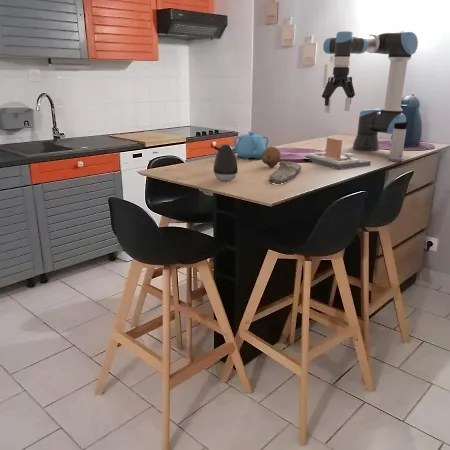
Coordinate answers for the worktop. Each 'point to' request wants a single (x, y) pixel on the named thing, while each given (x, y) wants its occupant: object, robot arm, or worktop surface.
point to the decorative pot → (250, 145)
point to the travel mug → (398, 141)
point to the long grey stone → (285, 172)
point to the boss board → (348, 155)
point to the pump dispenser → (225, 163)
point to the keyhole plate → (333, 160)
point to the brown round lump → (271, 156)
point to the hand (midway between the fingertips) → (337, 111)
